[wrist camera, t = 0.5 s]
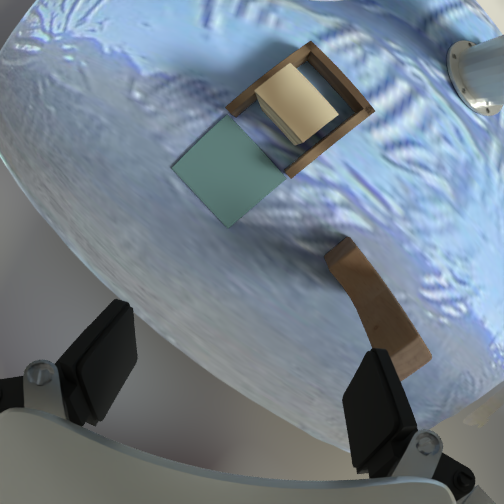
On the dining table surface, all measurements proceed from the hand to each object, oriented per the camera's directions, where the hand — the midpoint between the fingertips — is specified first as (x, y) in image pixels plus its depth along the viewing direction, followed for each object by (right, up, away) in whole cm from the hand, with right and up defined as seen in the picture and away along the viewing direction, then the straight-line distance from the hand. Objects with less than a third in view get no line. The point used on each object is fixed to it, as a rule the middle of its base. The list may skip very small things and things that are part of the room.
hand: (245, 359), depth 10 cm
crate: (+6, +21, +21) cm, 31 cm away
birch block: (+5, +21, +21) cm, 30 cm away
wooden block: (+15, +2, +28) cm, 31 cm away
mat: (-3, +14, +24) cm, 28 cm away
